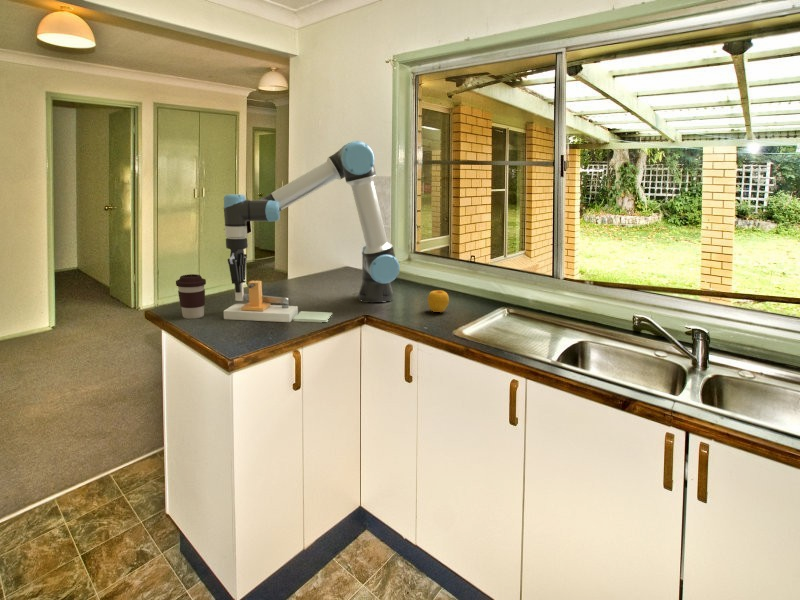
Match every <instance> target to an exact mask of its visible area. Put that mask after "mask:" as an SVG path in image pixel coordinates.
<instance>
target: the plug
mask: <svg viewBox="0 0 800 600" xmlns="http://www.w3.org/2000/svg"><path fill="white" fill-rule="evenodd" d="M247 284H248V294H249V300H248V302H247V303H244V304H245V305H244V306H242V307H241V310H254V311H264V310H265V309H266V308H268V307H269V306H270V305H271V302H262V295H263V289H262V288H263V285H262V284H263V281H262V280H250V281H248V283H247Z"/></svg>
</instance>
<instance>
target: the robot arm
mask: <svg viewBox="0 0 800 600" xmlns="http://www.w3.org/2000/svg"><path fill="white" fill-rule="evenodd" d="M376 176H377V173H376V169H375V155H374V151H373V150H372V148H371V147H370V146H369V145H368V144H366V143H365V142H363V141H361V140H353V141H350V142H347V143H346V144H344V145H343V146H342V147H341V148H340V149H339V150H338V151H336V152H334V153H333V154H332V155H330V156H328V157H327V159H326V161H325V162H324V163H321V164H320V165H318V166H316V167H314V168H312V169H311V170H309V171H307V172H306V173H304V174H302V175H300V176H299V177H297V178H295V179H293V180H292V181H290V182H288V183H287V184H285V185H283V186H281V187H279V188H278V189H275V190H274V191H273V192H270V193H269V194H267V195H265V196H263V197H262V198H259V199H258V200H250V199H249V200H248V199H247V198H246V195H244V194H237V193H235V194H232V193H230V194H229V193H228V194H225V195H224V196H223V217H224V229H223V230H224V231H225V237H226V238H225V247H226V249H227V250H230V254H229V255H230V257H229V258H227V263H228V267H229V274H230V281H231V284H232V285H234V295H235V296H234V297H235V301H237V302H238V301H239V302H242V301H245V300H244V294H245V292H244V291H245V290H244V284H245V283H246V282H247V281H246V275H247V274H246V272H247V271H246V270H247V258H248V255H247V253H245V251H244V250H245V249H248V245H249V244H248V238H247V236H248V226H247V222H269V223H271V222H279V221H280V220H281V219H280V218H281V216H280V212H281V211H283V210H284V209H286V208H288V207H290V206H292V205H293V204H295V203H296V202H298V201H300V200H302V199H304V198H306V197H308V196H309V195H311V194H312V193H314V192H316V191H318V190H320V189H321V188H323V187H324V186H326V185H328V184H330V183H332V182H334V181H335V180H339V181H342V180H343V179H345V183H346V184H348V185H349V186H350V187H351V191H352V195H353V199H354V202H355V203H354V204H355V207H356V210H357V215H358V218H359V222H360V227H361V231H362V234H363V239H364V243H365V246H363V247H362V252H361V254H362V257H361V258H362V264H361V265H362V268H361V269H362V270H361V271H362V272H361V275H362V276H361V279H362V280H361V283H360V285H359V286H360V287H359V290H358V292H357V300H358V299H360V300H362V301H361V302H363V301H369V302H382V301H390V300H392V299H393V300H394V293H393V288H392V286H391V283H392V282H394V280H395V279H397V277H398V276H399V274H400V268H401V267H400V263H399V260H398V259H397V257H396V254H395V250H394V246H393V244H392V243H390V242H389V241H388V237H387V233H386V228H385V226H384V220H383V216H382V212H381V208H380V203H379V198H378V195H377V191H376V187H375V182H374V180H375V179H376ZM360 300H359V301H360ZM393 300H392V301H393ZM390 302H391V301H390Z"/></svg>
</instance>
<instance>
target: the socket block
mask: <svg viewBox="0 0 800 600" xmlns="http://www.w3.org/2000/svg"><path fill="white" fill-rule="evenodd" d="M245 304H246V303H237V302H236V303H234V304H232V305H231V306H229V307H228V308H226V309H224V310H223V319H224V320H234V321H235V320H236V321H237V320H238V321H239V320H240V321H256V322H257V321H259V322H279V323H280V322H281V323H290V322H292V321H293V320H294V319H293V318H294V317H295V316H297V315H298V314H299V306H297V305H289V304H281V305H278V304H277V305H276V304H270V306H269V307H268V308H266V309H265V310H264V311H254V310H241V307H242V306H244V305H245Z"/></svg>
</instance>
